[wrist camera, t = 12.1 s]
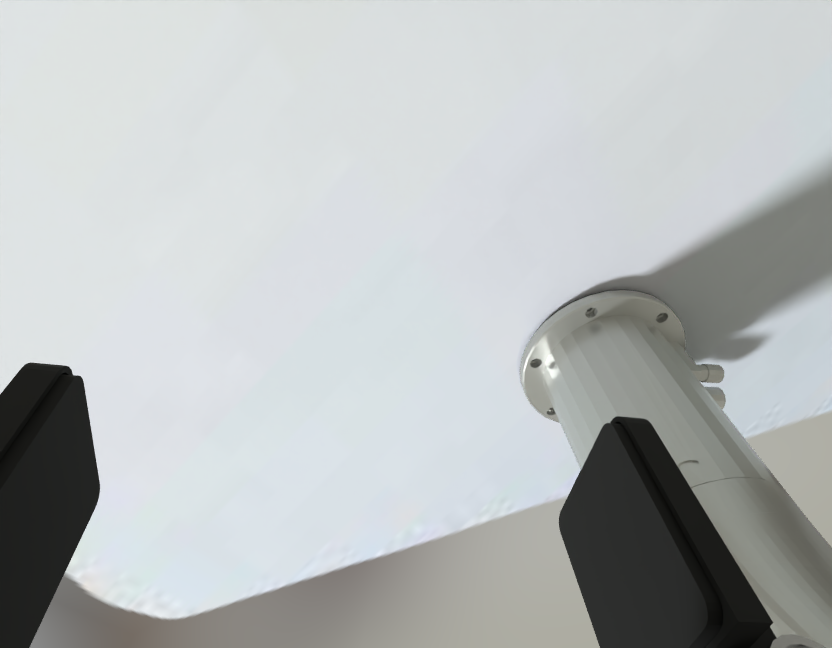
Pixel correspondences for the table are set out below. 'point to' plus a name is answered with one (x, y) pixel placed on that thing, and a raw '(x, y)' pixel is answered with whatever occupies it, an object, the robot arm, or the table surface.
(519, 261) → the table surface
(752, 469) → the robot arm
